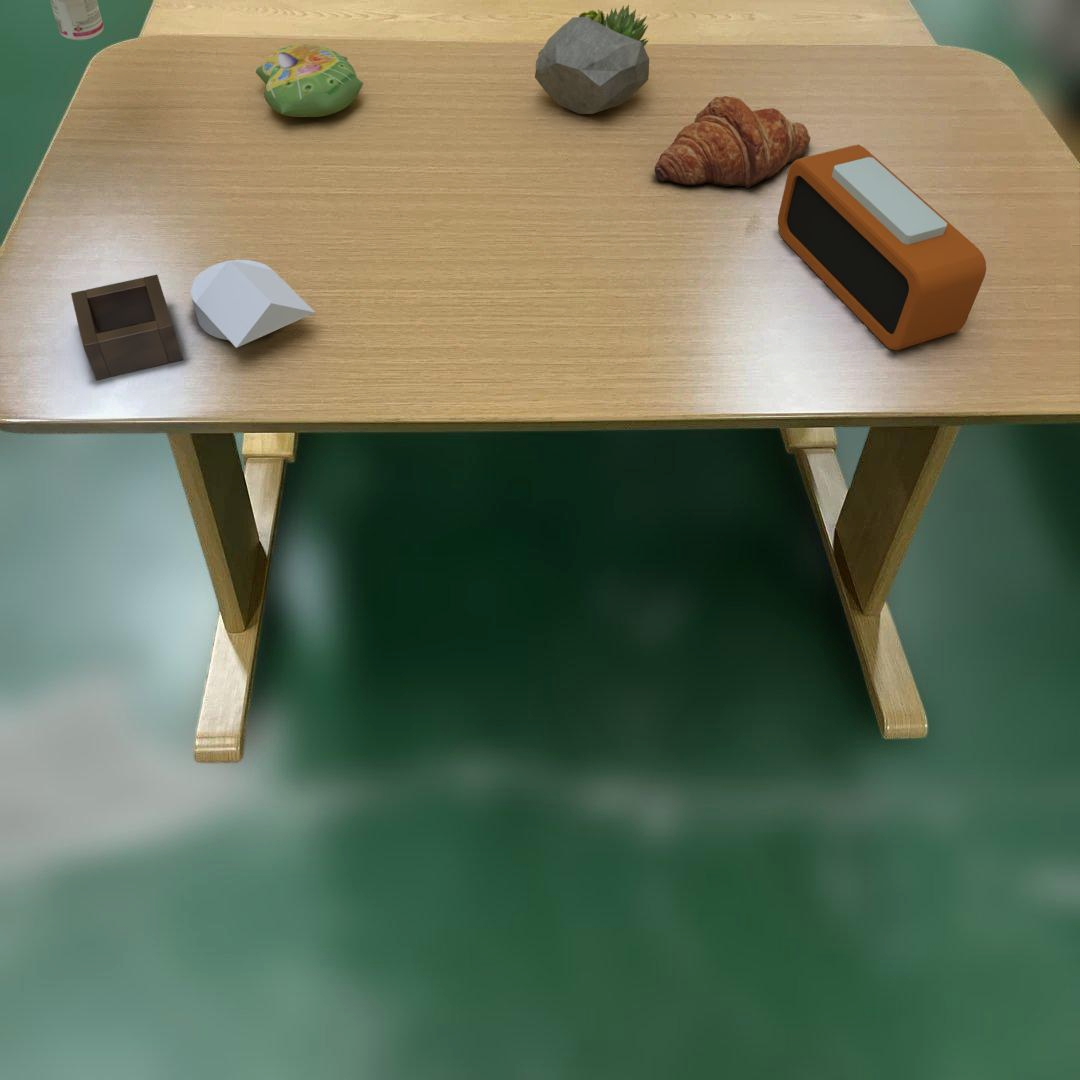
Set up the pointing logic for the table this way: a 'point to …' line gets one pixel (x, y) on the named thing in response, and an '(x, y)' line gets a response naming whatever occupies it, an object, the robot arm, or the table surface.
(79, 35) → the pill bottle
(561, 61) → the potted plant
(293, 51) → the educational model
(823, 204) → the alarm clock
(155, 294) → the socket
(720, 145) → the pastry
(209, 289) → the wedge on round base
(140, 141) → the table surface
